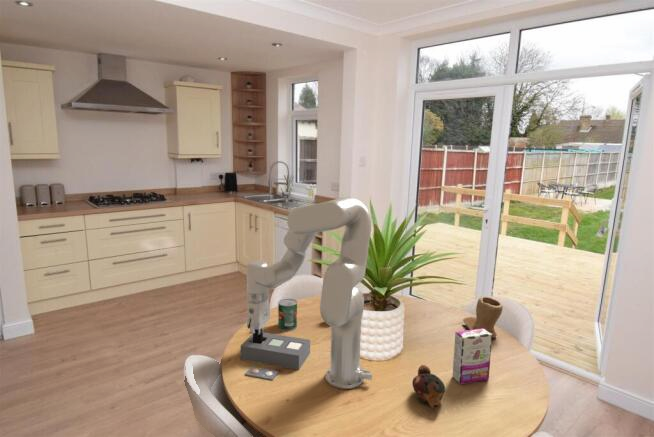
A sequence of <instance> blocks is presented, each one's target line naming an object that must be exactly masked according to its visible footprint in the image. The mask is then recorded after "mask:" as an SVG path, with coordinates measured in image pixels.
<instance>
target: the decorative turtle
mask: <svg viewBox="0 0 654 437" xmlns="http://www.w3.org/2000/svg"><path fill="white" fill-rule="evenodd" d="M411 384H412V388H413V391H414V393H415V395H416V398H417V400H418V401H419V403H421V404H423V403H425V402H427V403H428V405H429V406H430V407H431V409H434V410H435V409H436V410H438V409H439V408H440V407H441V401H442V399H443V398H444V396H445V395H446V386H445V384H444V382H443V381H442V379H440V377H438V376H437V375H436V374H433V373H432V372H431V369H430V368H429V366H427V365H426V364H422V365H420V366H419V368H418V370H417V375H416V376H415V377H413V380H412V383H411Z"/></svg>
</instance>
